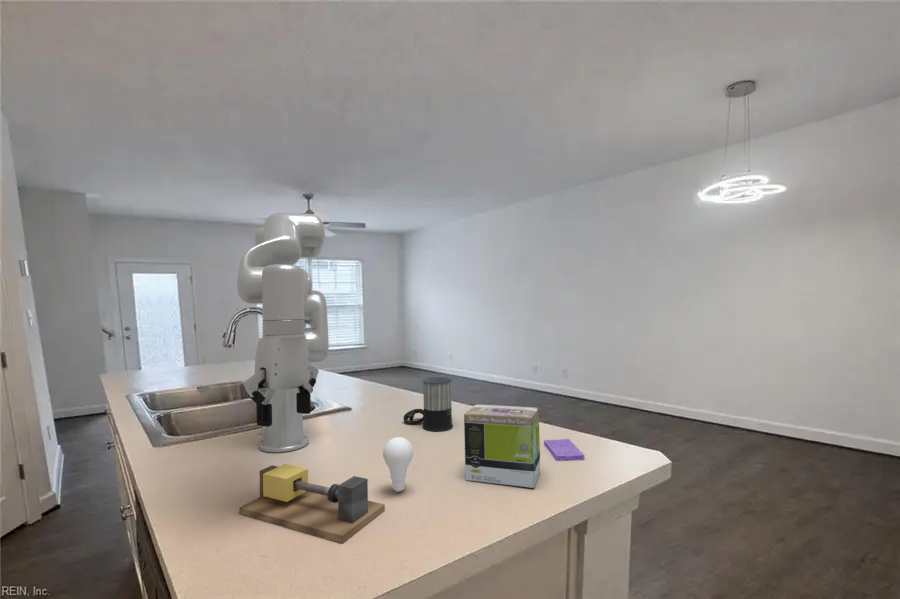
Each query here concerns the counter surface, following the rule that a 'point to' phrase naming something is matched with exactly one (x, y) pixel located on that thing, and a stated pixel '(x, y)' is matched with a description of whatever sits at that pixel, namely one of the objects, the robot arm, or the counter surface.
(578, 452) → the sponges
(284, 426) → the robot arm
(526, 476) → the tea box
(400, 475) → the lightbulb
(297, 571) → the counter surface
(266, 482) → the sleeve
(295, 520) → the cable rail
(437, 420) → the milk frother
